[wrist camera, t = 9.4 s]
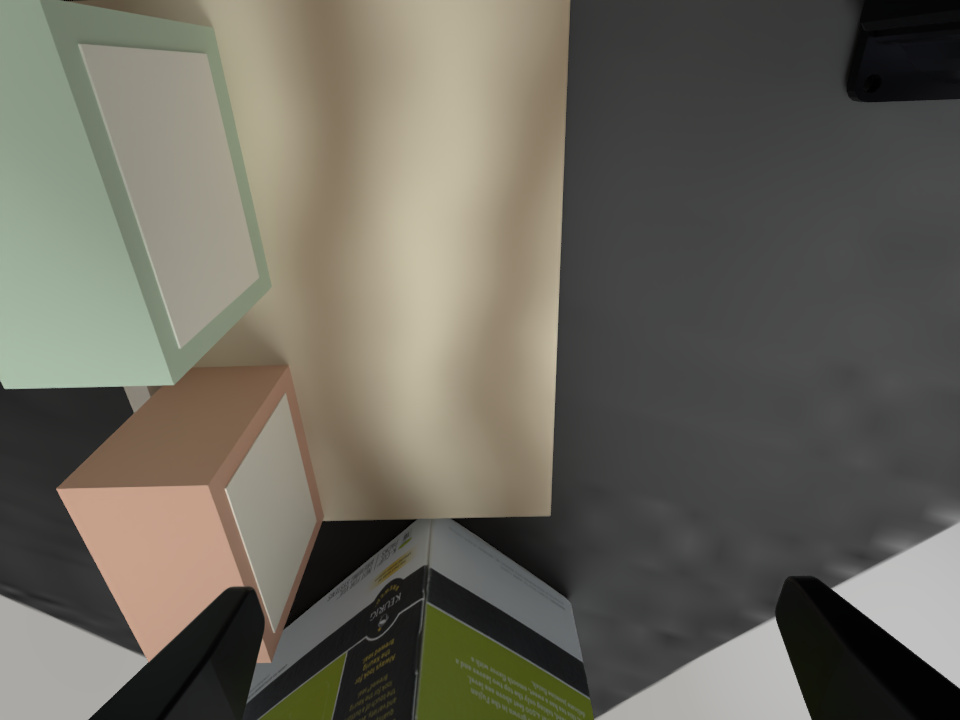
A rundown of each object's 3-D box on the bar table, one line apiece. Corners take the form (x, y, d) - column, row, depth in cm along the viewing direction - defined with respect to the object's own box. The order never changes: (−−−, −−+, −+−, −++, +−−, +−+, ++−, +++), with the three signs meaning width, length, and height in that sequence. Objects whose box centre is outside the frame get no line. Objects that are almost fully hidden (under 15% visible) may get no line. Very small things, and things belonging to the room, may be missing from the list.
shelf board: (563, -12, 15) (580, -31, 13) (546, 492, 24) (554, 543, 22) (45, 10, 16) (-45, -4, 13) (217, 499, 25) (185, 550, 22)
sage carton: (215, 27, 15) (41, -4, 9) (273, 287, 18) (176, 385, 12) (67, 33, 15) (-202, 4, 9) (154, 290, 18) (2, 389, 12)
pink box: (290, 364, 20) (210, 485, 14) (325, 516, 23) (272, 662, 17) (179, 368, 20) (54, 489, 14) (231, 518, 23) (148, 664, 17)
